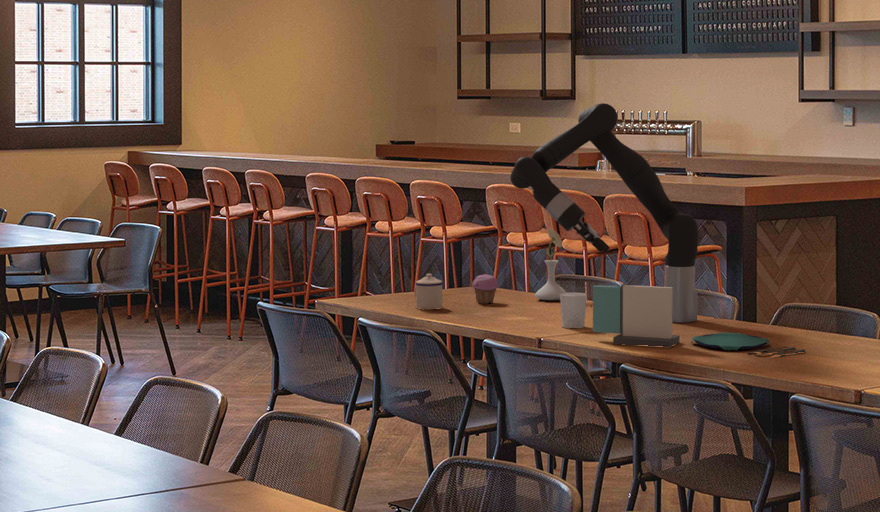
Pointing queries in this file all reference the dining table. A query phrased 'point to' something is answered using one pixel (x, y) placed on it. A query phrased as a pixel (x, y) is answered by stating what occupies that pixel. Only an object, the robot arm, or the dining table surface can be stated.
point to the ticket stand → (646, 316)
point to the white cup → (573, 310)
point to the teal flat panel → (607, 309)
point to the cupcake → (485, 288)
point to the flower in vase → (551, 273)
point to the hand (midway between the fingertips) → (605, 250)
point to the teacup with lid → (428, 292)
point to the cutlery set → (737, 342)
